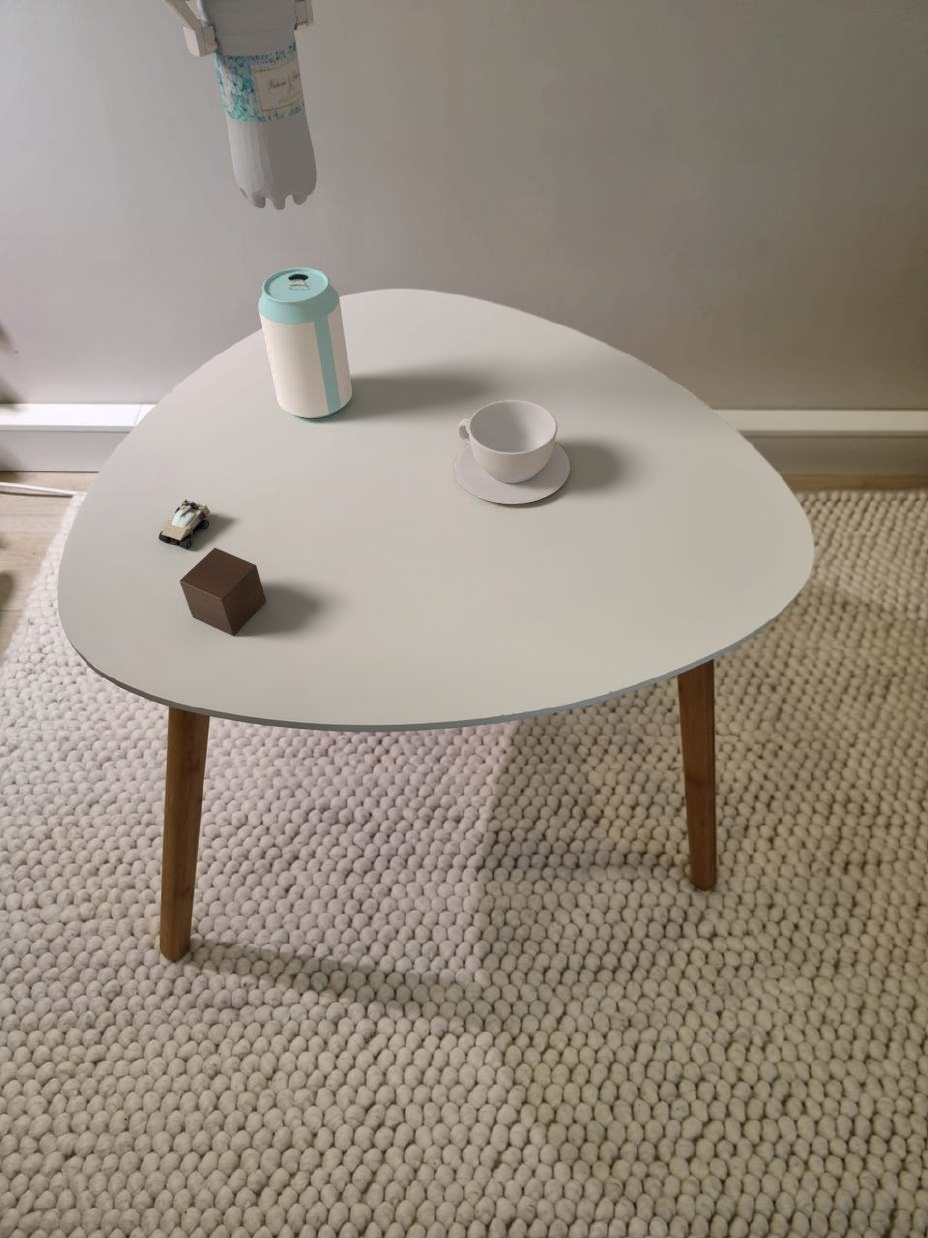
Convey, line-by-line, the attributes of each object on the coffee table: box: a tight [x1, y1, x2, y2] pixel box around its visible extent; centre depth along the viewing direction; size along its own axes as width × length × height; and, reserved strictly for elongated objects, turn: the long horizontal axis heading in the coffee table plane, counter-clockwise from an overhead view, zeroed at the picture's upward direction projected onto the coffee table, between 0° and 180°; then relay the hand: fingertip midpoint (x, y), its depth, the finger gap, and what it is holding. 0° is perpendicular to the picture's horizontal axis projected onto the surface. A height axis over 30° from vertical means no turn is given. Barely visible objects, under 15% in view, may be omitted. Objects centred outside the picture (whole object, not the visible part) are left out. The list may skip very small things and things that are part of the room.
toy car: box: [158, 498, 211, 550], centre depth 78 cm, size 3×4×2 cm, turn 156°
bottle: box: [196, 0, 318, 211], centre depth 68 cm, size 7×7×20 cm
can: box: [257, 266, 353, 419], centre depth 86 cm, size 7×7×12 cm
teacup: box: [453, 399, 571, 505], centre depth 81 cm, size 10×10×5 cm
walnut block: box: [179, 547, 267, 637], centre depth 71 cm, size 4×4×4 cm
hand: (252, 39), depth 67 cm, fingers closed on bottle, 6 cm apart
